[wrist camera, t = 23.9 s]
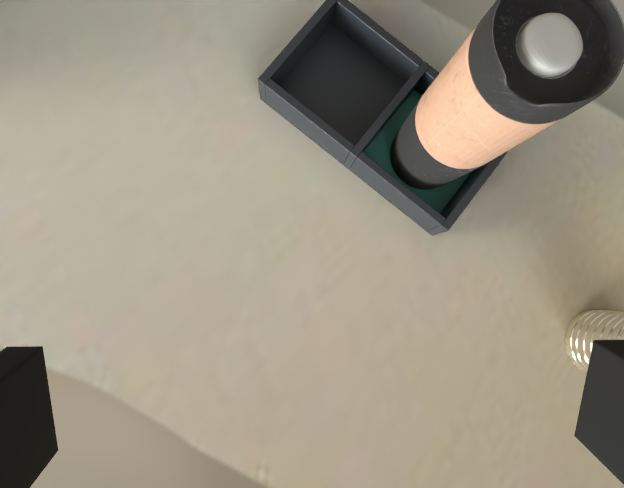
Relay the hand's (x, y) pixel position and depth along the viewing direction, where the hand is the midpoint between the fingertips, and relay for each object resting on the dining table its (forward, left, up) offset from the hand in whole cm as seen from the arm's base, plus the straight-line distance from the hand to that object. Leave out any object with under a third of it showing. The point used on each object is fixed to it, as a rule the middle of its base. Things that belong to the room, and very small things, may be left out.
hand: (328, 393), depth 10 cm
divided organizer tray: (-5, +20, -29) cm, 36 cm away
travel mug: (+1, +20, -29) cm, 35 cm away
